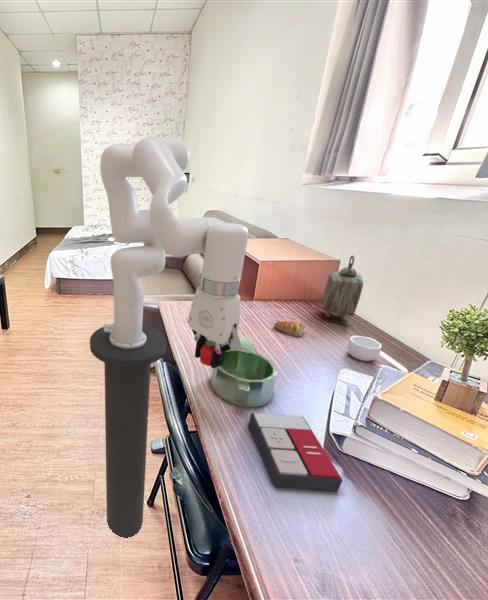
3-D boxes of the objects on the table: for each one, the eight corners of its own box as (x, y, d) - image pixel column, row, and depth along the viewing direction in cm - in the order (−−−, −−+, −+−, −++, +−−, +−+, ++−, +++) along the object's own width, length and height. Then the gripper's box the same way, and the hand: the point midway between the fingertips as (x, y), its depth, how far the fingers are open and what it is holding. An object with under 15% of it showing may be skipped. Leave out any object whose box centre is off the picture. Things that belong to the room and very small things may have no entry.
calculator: (278, 473, 54) (251, 409, 67) (273, 489, 56) (247, 424, 69) (345, 478, 53) (303, 412, 66) (337, 494, 55) (298, 427, 68)
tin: (206, 405, 75) (210, 379, 72) (214, 362, 92) (217, 340, 90) (273, 421, 70) (279, 395, 67) (268, 373, 87) (273, 350, 84)
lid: (201, 354, 97) (203, 338, 95) (206, 332, 110) (208, 318, 108) (255, 364, 91) (258, 348, 89) (254, 340, 105) (257, 326, 103)
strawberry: (197, 364, 69) (200, 345, 67) (200, 354, 73) (202, 337, 71) (217, 368, 68) (220, 349, 66) (218, 358, 71) (221, 340, 70)
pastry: (272, 330, 112) (274, 320, 110) (276, 324, 116) (278, 314, 115) (301, 338, 106) (304, 328, 105) (304, 331, 111) (307, 321, 110)
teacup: (379, 367, 90) (385, 351, 88) (347, 360, 93) (352, 344, 91) (371, 351, 98) (376, 336, 96) (342, 345, 102) (346, 330, 100)
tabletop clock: (350, 328, 113) (371, 261, 104) (321, 322, 117) (338, 258, 108) (345, 313, 125) (364, 253, 115) (319, 309, 129) (335, 250, 120)
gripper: (177, 277, 68) (171, 348, 75) (242, 303, 55) (227, 386, 62) (201, 271, 72) (193, 340, 79) (268, 295, 58) (251, 374, 66)
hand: (208, 360), depth 70 cm, fingers closed on strawberry, 4 cm apart
